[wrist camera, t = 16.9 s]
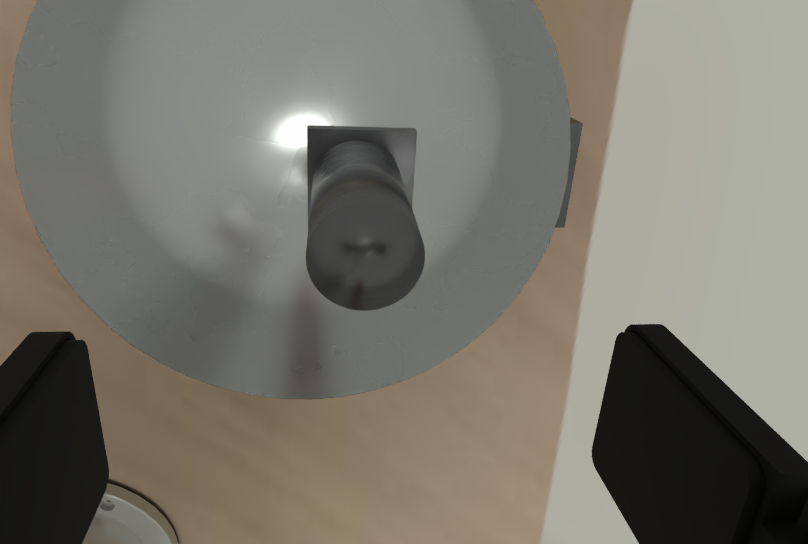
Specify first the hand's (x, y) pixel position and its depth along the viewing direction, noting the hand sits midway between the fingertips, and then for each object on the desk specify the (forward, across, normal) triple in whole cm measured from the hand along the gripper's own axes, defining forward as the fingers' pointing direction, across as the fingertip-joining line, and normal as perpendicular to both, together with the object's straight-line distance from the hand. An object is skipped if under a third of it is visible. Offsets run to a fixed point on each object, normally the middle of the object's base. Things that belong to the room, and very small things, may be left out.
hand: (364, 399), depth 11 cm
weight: (+11, 0, -1) cm, 11 cm away
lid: (+13, +1, -1) cm, 13 cm away
